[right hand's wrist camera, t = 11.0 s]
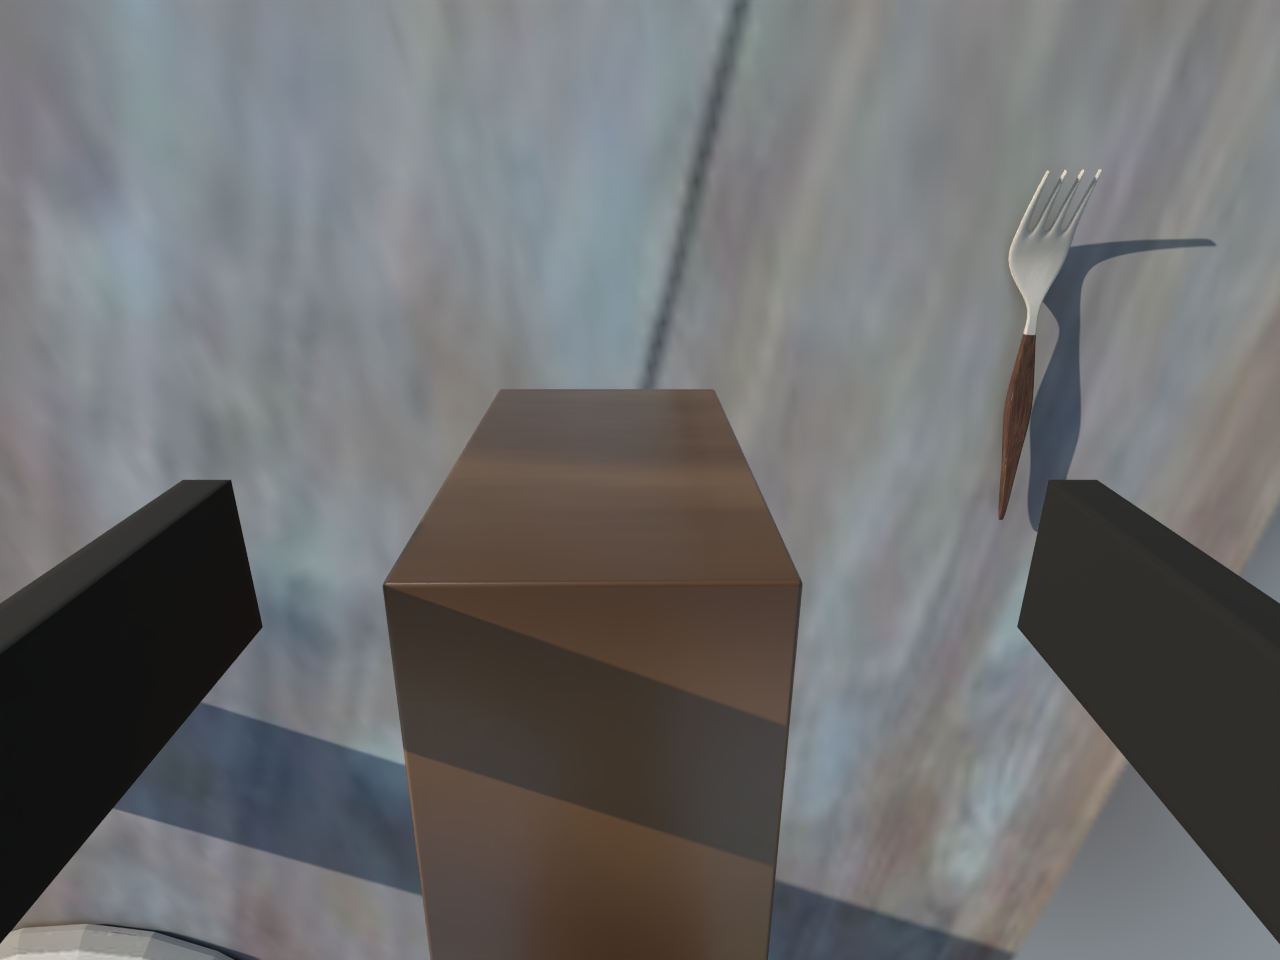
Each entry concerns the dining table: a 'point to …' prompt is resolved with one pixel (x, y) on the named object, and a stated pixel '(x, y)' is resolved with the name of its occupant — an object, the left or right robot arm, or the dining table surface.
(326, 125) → the dining table surface
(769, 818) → the box
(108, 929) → the wall clock
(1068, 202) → the fork
